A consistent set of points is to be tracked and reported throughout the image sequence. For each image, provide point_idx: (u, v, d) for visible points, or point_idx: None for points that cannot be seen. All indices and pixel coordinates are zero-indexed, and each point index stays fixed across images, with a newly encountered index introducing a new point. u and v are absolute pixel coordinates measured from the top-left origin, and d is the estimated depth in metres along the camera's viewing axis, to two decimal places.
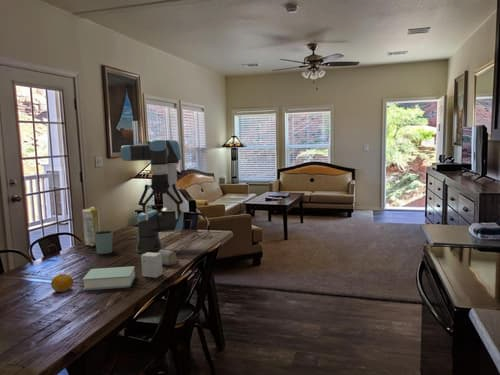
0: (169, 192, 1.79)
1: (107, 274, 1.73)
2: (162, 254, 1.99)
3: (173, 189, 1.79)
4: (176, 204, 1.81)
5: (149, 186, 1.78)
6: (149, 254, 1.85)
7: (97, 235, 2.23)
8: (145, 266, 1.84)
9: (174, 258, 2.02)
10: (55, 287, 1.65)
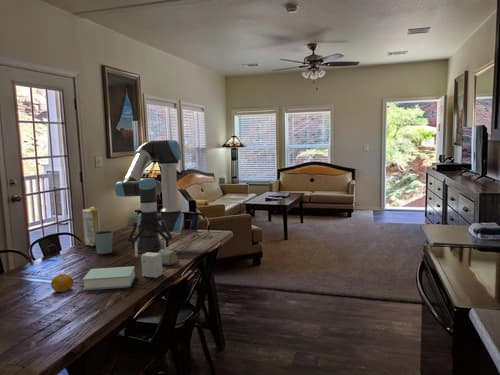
0: (158, 229, 1.83)
1: (107, 274, 1.73)
2: (162, 254, 2.00)
3: (162, 226, 1.83)
4: (165, 240, 1.85)
5: (138, 223, 1.82)
6: (149, 254, 1.85)
7: (97, 235, 2.23)
8: (145, 266, 1.84)
9: (174, 258, 2.02)
10: (55, 287, 1.65)
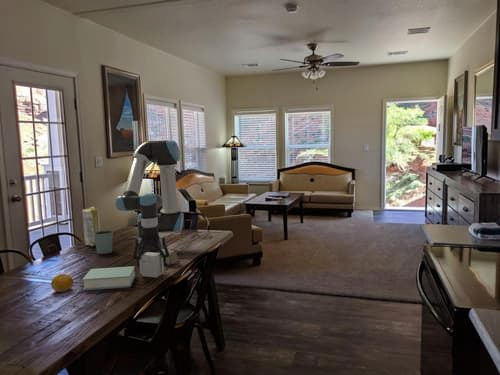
0: (158, 245, 1.84)
1: (107, 274, 1.73)
2: None
3: (162, 242, 1.84)
4: (162, 257, 1.86)
5: (140, 239, 1.83)
6: (149, 254, 1.85)
7: (97, 235, 2.23)
8: (145, 266, 1.84)
9: (175, 258, 2.02)
10: (55, 287, 1.65)
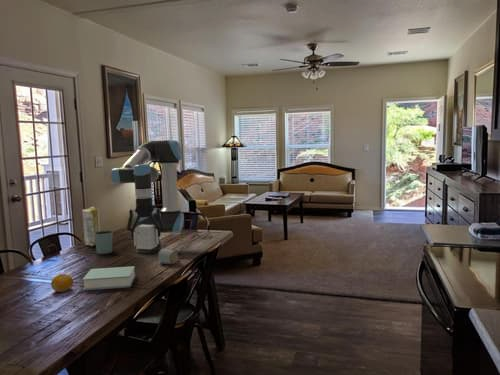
0: (152, 216, 1.82)
1: (107, 274, 1.73)
2: (163, 253, 2.01)
3: (156, 214, 1.81)
4: (157, 229, 1.84)
5: (133, 210, 1.80)
6: (143, 225, 1.82)
7: (97, 235, 2.23)
8: (139, 238, 1.81)
9: (175, 257, 2.03)
10: (55, 287, 1.65)
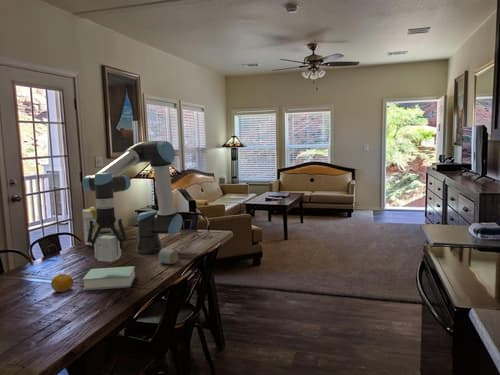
0: (114, 227, 1.74)
1: (107, 274, 1.73)
2: (164, 253, 2.01)
3: (118, 224, 1.73)
4: None
5: (94, 221, 1.72)
6: (104, 237, 1.74)
7: None
8: (100, 250, 1.73)
9: (176, 257, 2.03)
10: (55, 287, 1.65)
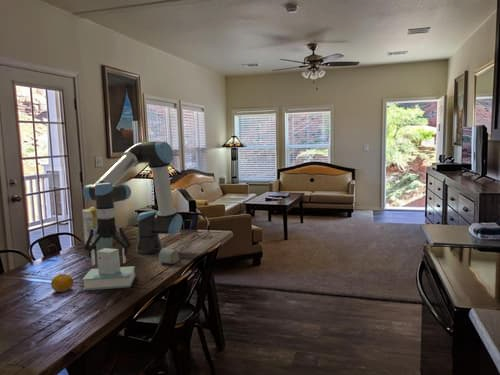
0: (116, 236, 1.74)
1: (107, 274, 1.73)
2: (164, 253, 2.01)
3: (120, 233, 1.74)
4: None
5: (95, 230, 1.73)
6: (105, 250, 1.75)
7: (97, 235, 2.23)
8: (101, 263, 1.74)
9: (176, 257, 2.04)
10: (55, 287, 1.65)
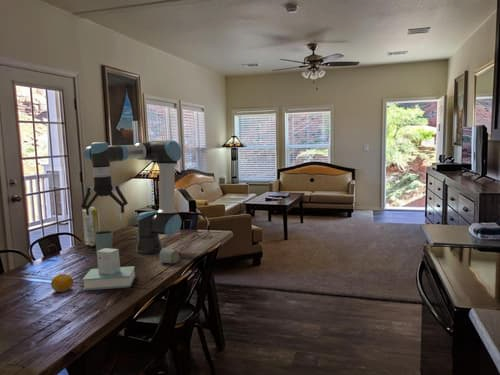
0: (112, 194, 1.80)
1: (107, 274, 1.73)
2: (165, 252, 2.02)
3: None
4: None
5: (92, 188, 1.78)
6: (105, 250, 1.75)
7: (97, 235, 2.23)
8: (101, 263, 1.74)
9: (177, 257, 2.04)
10: (55, 287, 1.65)
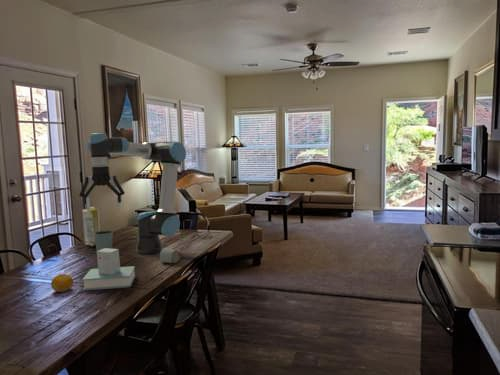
0: (110, 184, 1.84)
1: (107, 274, 1.73)
2: (165, 252, 2.02)
3: (114, 181, 1.83)
4: None
5: (90, 178, 1.83)
6: (105, 250, 1.75)
7: (97, 235, 2.23)
8: (101, 263, 1.74)
9: (177, 256, 2.04)
10: (55, 287, 1.65)
